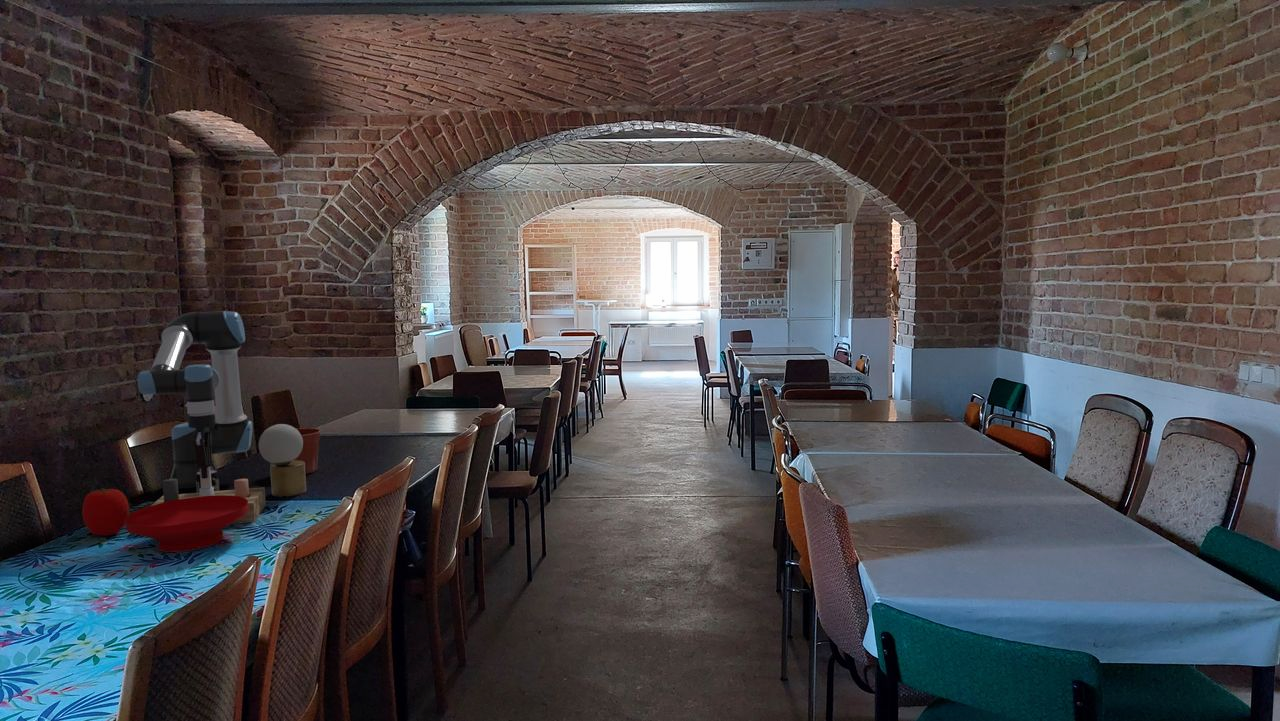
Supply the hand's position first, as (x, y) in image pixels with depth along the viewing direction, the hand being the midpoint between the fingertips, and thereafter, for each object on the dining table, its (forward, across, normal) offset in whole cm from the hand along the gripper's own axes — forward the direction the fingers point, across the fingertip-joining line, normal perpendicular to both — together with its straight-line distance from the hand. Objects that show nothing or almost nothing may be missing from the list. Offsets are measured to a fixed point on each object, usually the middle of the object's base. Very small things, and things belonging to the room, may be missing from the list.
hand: (206, 487), depth 244 cm
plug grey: (+9, 0, 0) cm, 9 cm away
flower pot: (+10, -58, +20) cm, 62 cm away
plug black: (+6, 0, -10) cm, 12 cm away
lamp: (+10, -23, +19) cm, 31 cm away
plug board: (+10, 0, 0) cm, 10 cm away
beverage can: (+10, -14, -3) cm, 17 cm away
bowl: (+10, +26, +1) cm, 28 cm away
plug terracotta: (+8, 0, +10) cm, 13 cm away
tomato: (+10, +8, -25) cm, 28 cm away
